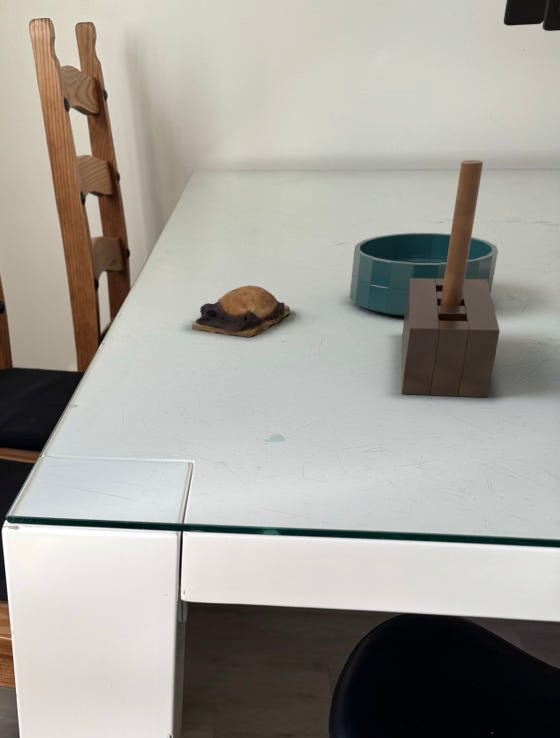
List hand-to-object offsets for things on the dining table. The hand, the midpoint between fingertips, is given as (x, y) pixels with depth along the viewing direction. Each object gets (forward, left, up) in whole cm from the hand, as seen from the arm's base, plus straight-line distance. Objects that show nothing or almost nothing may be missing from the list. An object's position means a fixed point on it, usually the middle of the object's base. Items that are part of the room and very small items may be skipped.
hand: (542, 27), depth 81 cm
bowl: (+6, -22, -28) cm, 36 cm away
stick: (+4, 0, -28) cm, 28 cm away
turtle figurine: (+25, -13, -28) cm, 40 cm away
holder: (+4, 0, -28) cm, 28 cm away
